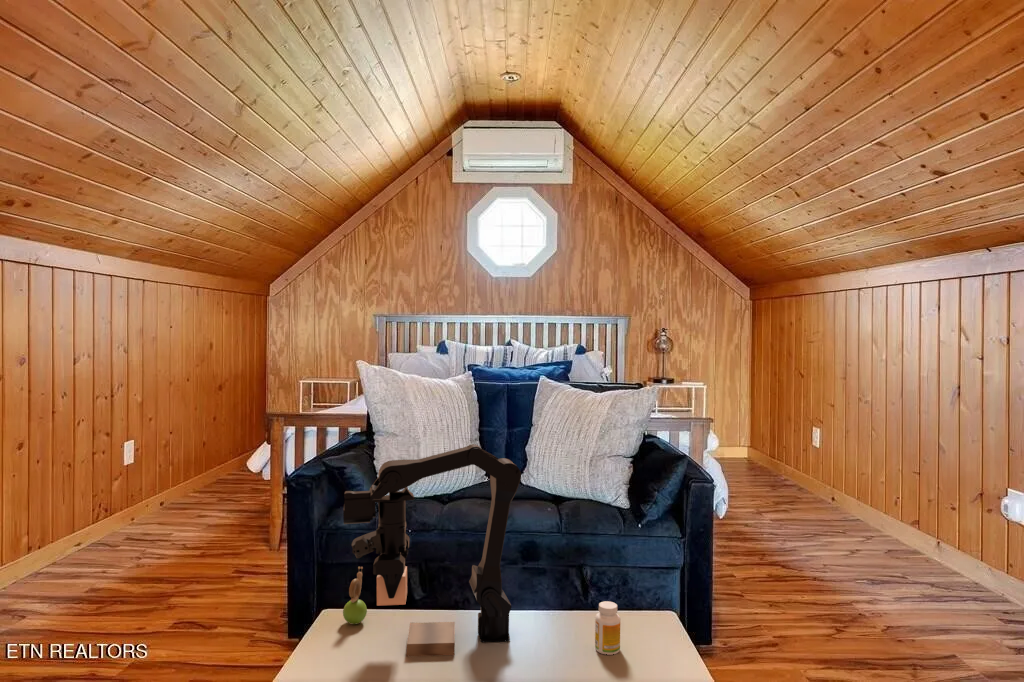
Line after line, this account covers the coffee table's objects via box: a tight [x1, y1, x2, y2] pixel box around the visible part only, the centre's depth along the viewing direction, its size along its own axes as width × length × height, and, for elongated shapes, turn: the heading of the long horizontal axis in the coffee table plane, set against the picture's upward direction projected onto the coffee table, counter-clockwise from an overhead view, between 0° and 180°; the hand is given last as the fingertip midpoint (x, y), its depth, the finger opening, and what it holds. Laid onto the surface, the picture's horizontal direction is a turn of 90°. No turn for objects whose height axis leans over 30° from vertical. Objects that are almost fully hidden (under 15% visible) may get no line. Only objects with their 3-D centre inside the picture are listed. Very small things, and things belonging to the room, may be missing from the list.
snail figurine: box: [342, 566, 368, 625], centre depth 151 cm, size 5×6×12 cm
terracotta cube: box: [376, 565, 408, 606], centre depth 140 cm, size 6×6×6 cm
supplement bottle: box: [594, 600, 621, 656], centre depth 139 cm, size 5×5×10 cm
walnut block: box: [406, 621, 456, 657], centre depth 141 cm, size 10×10×3 cm
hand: (392, 592), depth 140 cm, fingers closed on terracotta cube, 6 cm apart
